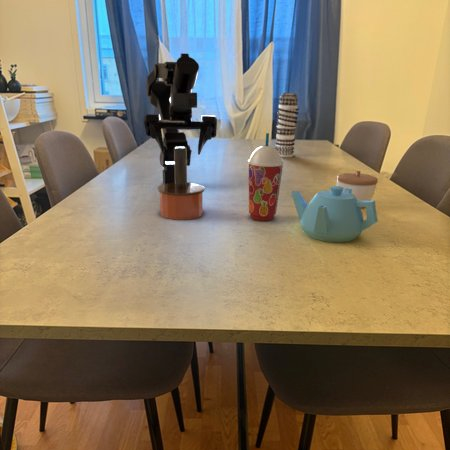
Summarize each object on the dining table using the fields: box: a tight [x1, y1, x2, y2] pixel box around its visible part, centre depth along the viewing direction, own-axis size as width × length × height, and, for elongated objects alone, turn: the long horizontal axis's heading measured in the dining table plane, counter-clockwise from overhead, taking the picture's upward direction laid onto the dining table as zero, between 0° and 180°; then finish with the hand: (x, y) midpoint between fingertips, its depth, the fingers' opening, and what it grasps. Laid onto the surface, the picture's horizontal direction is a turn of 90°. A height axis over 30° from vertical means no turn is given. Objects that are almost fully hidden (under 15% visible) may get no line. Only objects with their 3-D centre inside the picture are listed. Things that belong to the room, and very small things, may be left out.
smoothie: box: [247, 132, 284, 222], centre depth 104 cm, size 8×8×20 cm
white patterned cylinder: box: [274, 92, 300, 158], centre depth 186 cm, size 9×9×25 cm
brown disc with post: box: [157, 147, 205, 196], centre depth 105 cm, size 12×12×11 cm
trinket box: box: [336, 170, 379, 209], centre depth 119 cm, size 11×11×9 cm
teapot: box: [290, 185, 379, 243], centre depth 96 cm, size 15×15×11 cm
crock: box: [158, 192, 203, 221], centre depth 109 cm, size 11×11×6 cm
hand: (180, 153), depth 111 cm, fingers open, 9 cm apart
